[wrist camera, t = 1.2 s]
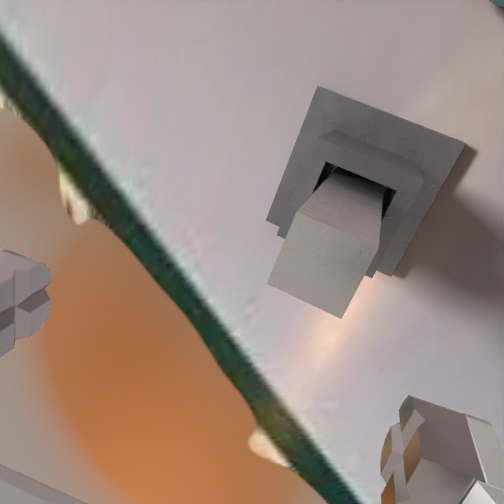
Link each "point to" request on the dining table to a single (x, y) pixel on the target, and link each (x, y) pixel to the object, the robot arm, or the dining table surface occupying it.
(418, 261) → the dining table surface
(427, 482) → the robot arm
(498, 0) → the beverage bottle
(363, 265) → the column
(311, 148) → the stand
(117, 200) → the dining table surface
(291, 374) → the dining table surface
